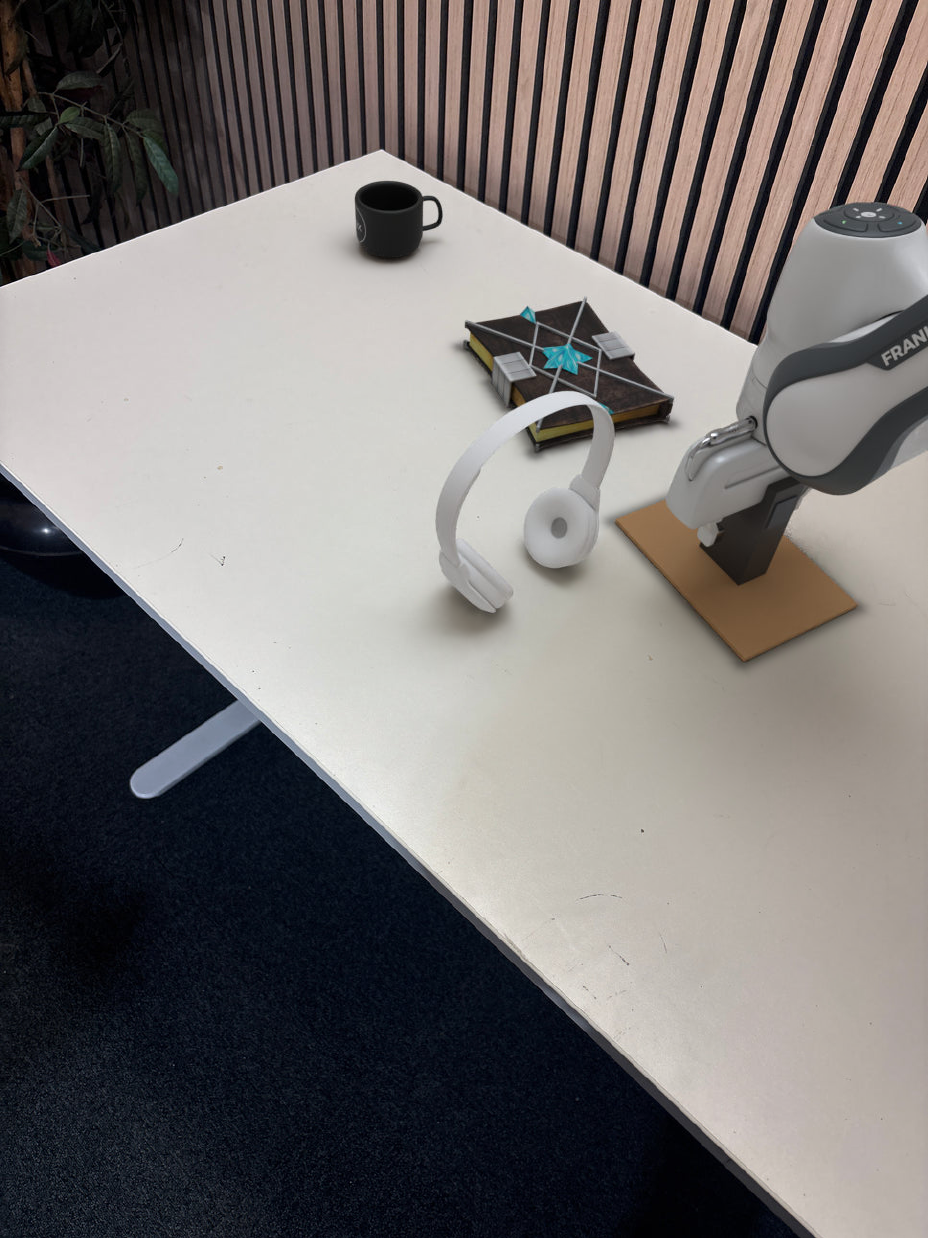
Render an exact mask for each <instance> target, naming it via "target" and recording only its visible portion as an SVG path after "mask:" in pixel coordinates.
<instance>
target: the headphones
mask: <svg viewBox="0 0 928 1238" xmlns="http://www.w3.org/2000/svg"><path fill="white" fill-rule="evenodd" d="M575 405H587V406H588V407H589V408H590V410H591V412H592V415H593V420H594V433H593V435H592V439H591V445H590V448H589V451H588V455H587V458H586V461H585V463H584V466H583V469H582V471H581V473H580V474H579V473H577V474H576V475H575V476H574V477H573V478H572V480H571V481H570V483H569V487H568V488H567V487H564V486H554V487H552V488H549V489H548V490H546V491H544V492H542V493H540V495H538V496H537V497H536V498H535V499H534V500H533V501H532V503H531V504H530V506H529V507H528V510H527V512H526V514H525V517H524V521H523V529H522V530H523V532H522V533H523V540H524V545H525V547H526V549H527V552H528V553H529V555H530V556H531V558H532V559H533V560H534V561H536V563H538V564H539V565H541V566H542V567H546V568H549V569H560V568H564V567H565V568H566V567H570V566H575V565H577V564H579V563H581V562H582V561H584V560H585V559H586V558H587V557H588V556H589V555H590V554H591V553H592V551H593V550H594V548H595V546H596V543H597V542H598V541H597V540H598V536H599V530H600V517H599V513H600V505H601V504H600V503H601V489H600V487H601V485H602V484H603V483H602V482H603V480H604V478H605V475H606V473H607V470H608V467H609V465H610V462H611V458H612V456H613V455H612V454H613V450H614V445H615V436H616V435H615V434H616V432H615V430H614V425H613V421H612V418H611V416H610V415H609V413H608V412H607V411H606V410H605V409H604V408H603V407H602V406H601V405H600V404H599V403H597V402H596V401H595V400H593V399H592V398H590V397H588V396H587V395H585V394H582V393H579V392H574V391H562V392H555V393H551V394H547V395H544V396H541V397H539V398H536V399H534V400H532V401H530V402H528V403H525V404H524V405H522V406H520V407H518V408H516V409H515V408H514V409H512V410H510V411H509V412H508V413H506V414H504V415H503V416H502V417H500V418H499V419H498V420H496V421H495V422H494V423H492V424H491V425H489V426H488V427H487V429H485V430H483V432H482V433H481V434H480V435H479V436H478V437H477V438H476V439H475V440H474V441H473V442H472V443H471V444H470V445H469V446H468V447H467V448H466V450H464V452H463V453H462V454H461V456H460V457H459V458H458V460H457V461H456V462H455V464H454V465H453V467H452V469H451V470H450V472H449V474H448V476H447V477H446V479H445V482H444V484H443V486H442V488H441V491H440V493H439V497H438V500H437V506H436V509H435V531H436V538H437V540H438V543H439V547H440V549H439V553H438V564H439V566H440V569H441V570H440V571H441V573H442V574H443V576H444V577H445V579H447V581H448V582H449V583H450V584H451V585H452V586H453V587H454V588H455V589H456V590H457V591H458V592H459V593H460V594H461V595H462V596H464V597H465V598H466V599H467V600H468V601H469V602H470V603H471V604H472V605H474V606H475V607H476V608H477V609H480V610H481V611H484V612H488V613H492V614H494V613H496V611H497V610H496V609H500V608H502V607H503V605H505V603H506V602H507V601H508V600H511V599H512V597H513V596H514V589H513V587H512V586H511V585H510V583H509V582H508V581H507V580H506V579H505V578H504V577H503V576H502V575H501V573H499V571H497V569H495V567H494V566H493V565H492V564H491V563H490V562H488V561H487V560H486V558H484V556H482V555H481V554H480V553H479V551H477V550H476V549H475V548H474V547H473V546H472V545H471V544H470V543H468V542H467V541H465V540H464V539H463V538H457V536H456V535H457V524H458V520H459V516H460V513H461V510H462V507H463V505H464V502H465V501H466V498H467V496H468V494H469V493H470V490H471V488H472V487H473V485H474V484H475V481H477V479H478V477H479V476H480V474H481V471H482V468H483V466H484V465H485V464H486V463H487V462H488V461H489V460H490V458H491V457H492V456H493V455H494V454H495V453H496V452H497V451H498V450H499V449H500V448H502V447H503V445H504V444H506V443H507V442H508V441H510V440H511V439H512V438H513V437H514V436H516V435H517V434H519V433H520V432H521V431H523V430H524V429H526V427H527V426H529V425H530V424H532V423H534V422H535V421H537V420H539V419H541V418H543V417H545V416H547V415H549V414H551V413H553V412H556V411H558V410H561V409H564V408H567V407H571V406H575Z"/></svg>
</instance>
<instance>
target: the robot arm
mask: <svg viewBox="0 0 928 1238" xmlns="http://www.w3.org/2000/svg"><path fill="white" fill-rule="evenodd" d="M764 334H765V335H764V337H763V339H762V340H761V341H760V342H759V345H758V346H757V347H756V348H755V350H754V352H753V355H752V356H751V360H750V363H749V366H748V369H747V372H746V374H745V375H746V376H745V378H744V381H743V384H742V387H741V390H740V393H739V395H738V399H737V401H736V404H735V405H736V407H735V415H736V418H737V421H735V422H733V423H731V424H729V425H726V426H725V427H720V428H715V429H712V430H711V431H709V432H707V433H706V434H705V435H704V436H702V437H700V438H698V439H697V440H695V442H693V443H692V444H691V445H690V446H689V447H688V449H686V451H685V453H684V455H683V456H682V459H681V460H680V462H679V465H678V467H677V470H676V471H675V474H674V476H673V479H672V480H671V484H670V486H669V489H668V492H667V495H666V497H665V499H666V504H667V506H668V508H669V509H670V511H671V512H672V513H673V514H674V515H675V516H676V518H678V519H679V520H680V521H681V522H682V523H683V524H684V525H685V526H687V527H688V528H690V529H697V528H699V529H698V532H697V536H698V539H699V540H700V541H701V542H702V543H703V544H704V545H705V546H707V547H709V546H711V545H713V544H715V543H717V542H720V541H721V540H722V536H723V535H724V532H725V529H724V528H723V527H722V526H721V525H719V524H718V522H721V521H722V519H723V518H724V517H726V516H729V515H731V514H734V513H736V512H738V511H741V510H743V509H746V508H748V507H751V506H753V505H756V504H758V503H760V502H761V501H762V499H763V497H764V494H765V492H766V489H767V486H768V485H769V484H772V483H774V482H777V481H779V480H782V479H784V478H787V477H789V476H792V477H793V478H794V479H796V480H798V481H799V482H801V483H802V484H804V485H805V486H804V488H803V491H802V493H801V495H800V497H799V500H798V502H797V504H796V507H795V509H794V511H796V510H798V509H799V508H800V506H801V504H802V501H803V500H804V498H805V497H806V496H807V495H808V494H809V493H810V492H811V491H812V490H815V491H818V492H819V493H822V494H826V495H830V496H848V495H852V494H855V493H856V492H859V491H861V490H862V489H863V488H864V489H865V487H867V486H869V485H871V484H872V483H874V482H875V481H877V480H879V478H881V477H883V476H884V475H886V474H887V473H888V472H889V471H891V470H894V469H895V468H898V467H900V466H901V465H903V464H905V463H907V462H909V461H910V460H912V459H915V458H917V457H918V456H921V455H922V454H924V453H927V452H928V229H927V227H926V225H925V223H924V221H923V220H922V219H921V218H920V217H919V216H918V215H916V214H915V213H913V212H912V211H910V210H909V209H907V208H904V207H902V206H899V205H896V204H891V203H885V202H879V201H878V202H876V201H870V202H868V201H867V202H865V201H864V202H863V201H862V202H861V201H860V202H859V201H855V202H850V203H844V204H841V205H838V206H834V207H831V208H828V209H825V210H824V211H822V212H818V214H816V215H814V216H813V217H811V218H810V219H809V221H808V222H807V223H806V225H804V227H803V228H802V230H801V231H800V233H799V235H798V236H797V238H796V239H795V242H794V243H793V246H792V247H791V250H790V252H789V254H788V256H787V258H786V260H785V263H784V265H783V268H782V270H781V272H780V275H779V278H778V281H777V283H776V286H775V288H774V291H773V295H772V297H771V300H770V302H769V305H768V309H767V313H766V332H765V333H764Z"/></svg>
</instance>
